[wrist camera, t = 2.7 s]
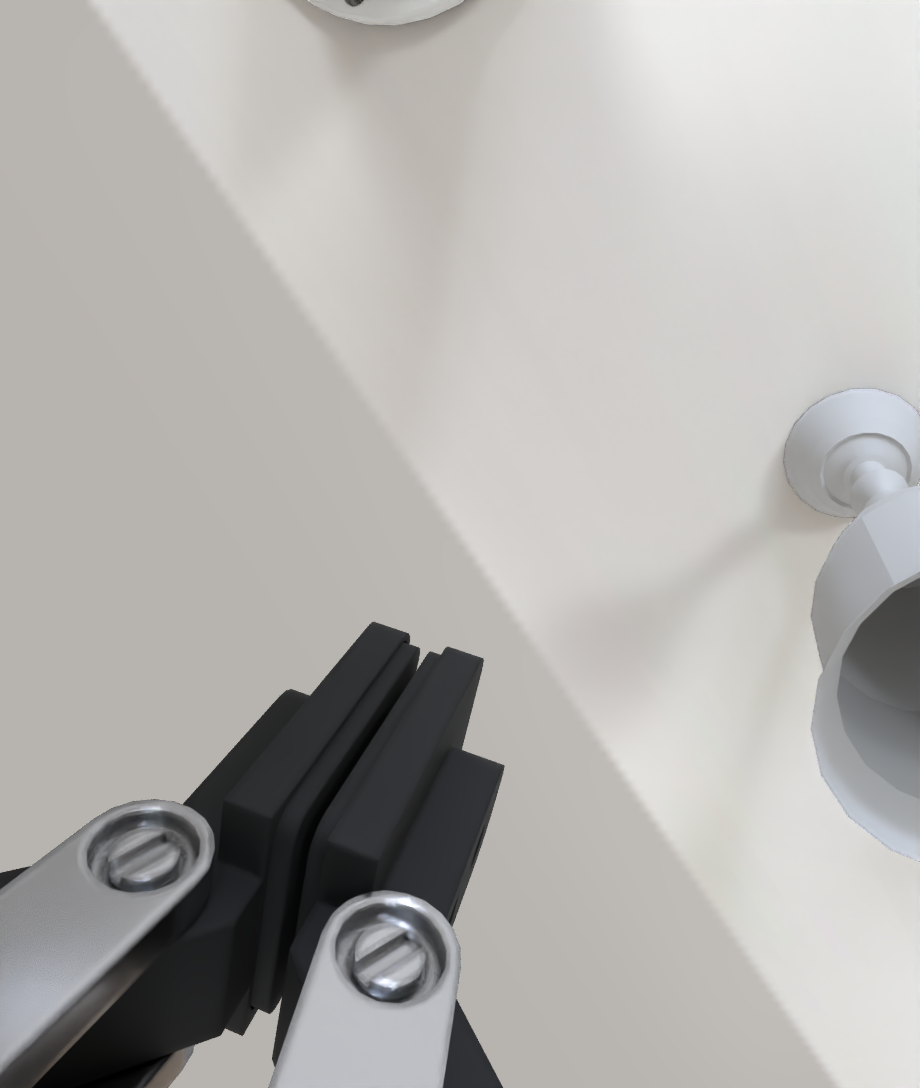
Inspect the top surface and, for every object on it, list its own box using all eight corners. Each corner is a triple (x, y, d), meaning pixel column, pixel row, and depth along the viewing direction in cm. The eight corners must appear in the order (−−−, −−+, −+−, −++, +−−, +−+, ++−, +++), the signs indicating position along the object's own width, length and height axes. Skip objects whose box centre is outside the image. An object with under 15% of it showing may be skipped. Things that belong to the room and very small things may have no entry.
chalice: (919, 559, 31) (1136, 922, 15) (739, 525, 33) (769, 825, 17) (988, 373, 28) (1345, 584, 12) (787, 344, 30) (877, 501, 14)
